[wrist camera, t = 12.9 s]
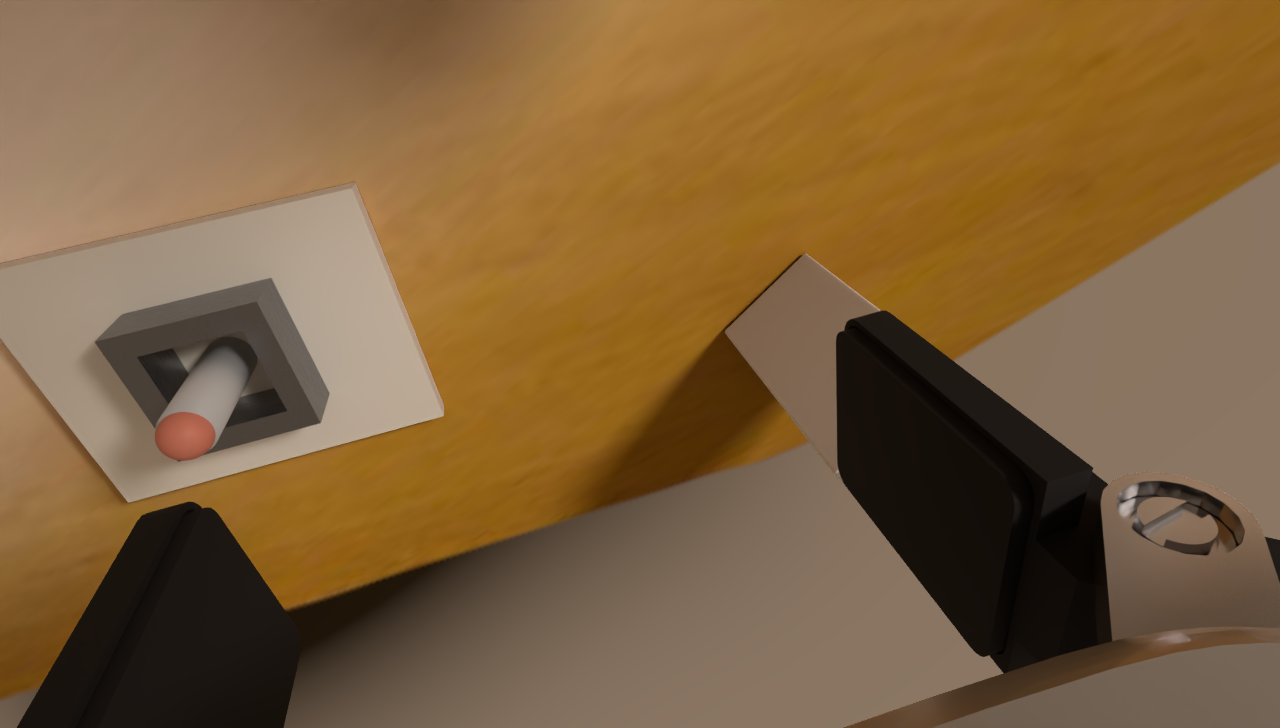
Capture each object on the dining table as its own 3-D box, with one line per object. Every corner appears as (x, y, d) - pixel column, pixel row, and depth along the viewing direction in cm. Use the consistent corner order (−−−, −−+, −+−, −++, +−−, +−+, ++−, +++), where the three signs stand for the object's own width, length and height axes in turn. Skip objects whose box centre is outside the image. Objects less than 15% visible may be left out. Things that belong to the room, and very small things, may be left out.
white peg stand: (-30, 270, 32) (-194, 368, 24) (355, 182, 34) (324, 244, 26) (136, 489, 39) (54, 621, 31) (443, 405, 41) (441, 508, 33)
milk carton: (784, 387, 47) (957, 599, 31) (721, 330, 43) (880, 535, 27) (861, 316, 45) (1085, 499, 29) (803, 250, 42) (1022, 417, 26)
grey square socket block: (121, 314, 33) (94, 342, 30) (271, 277, 34) (256, 301, 31) (197, 428, 37) (178, 462, 34) (329, 393, 38) (320, 423, 35)
